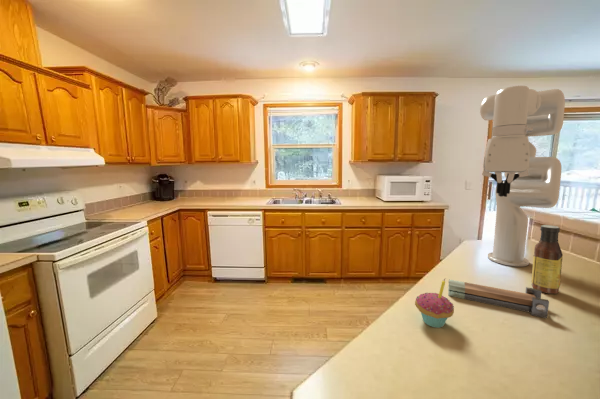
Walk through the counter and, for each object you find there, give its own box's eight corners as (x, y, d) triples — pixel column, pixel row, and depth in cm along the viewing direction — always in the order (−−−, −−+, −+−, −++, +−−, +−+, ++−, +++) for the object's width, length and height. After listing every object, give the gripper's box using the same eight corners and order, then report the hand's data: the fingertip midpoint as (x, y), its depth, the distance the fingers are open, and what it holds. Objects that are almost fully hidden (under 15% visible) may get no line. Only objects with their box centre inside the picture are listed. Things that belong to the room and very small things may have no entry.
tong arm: (448, 283, 79) (449, 279, 79) (533, 299, 69) (534, 294, 69) (448, 289, 75) (449, 284, 75) (538, 307, 66) (538, 302, 65)
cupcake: (448, 315, 66) (451, 271, 64) (456, 336, 58) (460, 287, 57) (412, 309, 69) (414, 268, 67) (416, 329, 61) (418, 282, 59)
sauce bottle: (564, 295, 74) (573, 229, 71) (539, 294, 75) (547, 229, 72) (547, 285, 80) (555, 224, 77) (525, 283, 82) (531, 223, 79)
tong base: (448, 286, 81) (449, 273, 80) (537, 303, 70) (539, 288, 70) (448, 298, 74) (449, 284, 73) (547, 319, 63) (550, 302, 63)
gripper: (538, 132, 72) (531, 195, 75) (475, 135, 80) (471, 193, 82) (547, 129, 66) (539, 199, 69) (478, 133, 73) (473, 196, 76)
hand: (502, 195), depth 76 cm, fingers closed
